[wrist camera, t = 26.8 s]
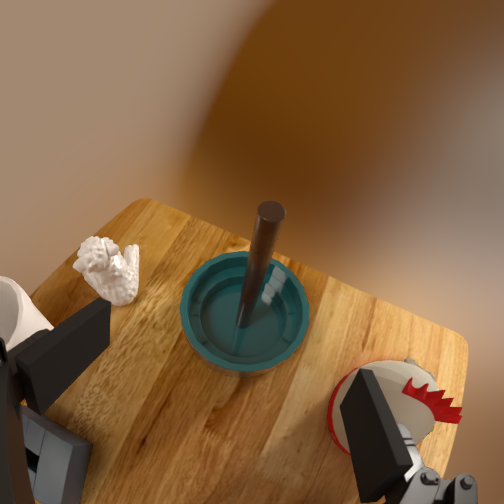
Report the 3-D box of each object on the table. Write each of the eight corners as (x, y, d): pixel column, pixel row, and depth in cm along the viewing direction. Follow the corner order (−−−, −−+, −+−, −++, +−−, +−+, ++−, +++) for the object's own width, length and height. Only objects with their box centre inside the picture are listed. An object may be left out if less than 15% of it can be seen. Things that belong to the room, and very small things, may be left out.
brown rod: (232, 322, 37) (251, 210, 18) (242, 312, 38) (269, 195, 19) (243, 331, 36) (274, 226, 18) (252, 321, 37) (291, 211, 19)
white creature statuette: (138, 246, 42) (119, 192, 32) (161, 293, 38) (143, 245, 28) (84, 273, 38) (50, 225, 28) (102, 323, 35) (64, 285, 25)
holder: (19, 466, 21) (-6, 467, 16) (32, 406, 27) (7, 401, 22) (79, 505, 21) (59, 515, 16) (93, 443, 26) (73, 445, 21)
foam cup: (70, 312, 35) (24, 268, 24) (79, 376, 31) (25, 352, 20) (21, 323, 32) (-30, 285, 21) (26, 383, 28) (-33, 361, 17)
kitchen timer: (377, 475, 27) (450, 488, 15) (306, 422, 31) (360, 422, 19) (427, 397, 34) (501, 375, 21) (367, 344, 38) (431, 303, 25)
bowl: (162, 323, 36) (154, 306, 31) (238, 255, 43) (241, 231, 38) (246, 401, 32) (252, 399, 27) (317, 320, 39) (332, 303, 34)
